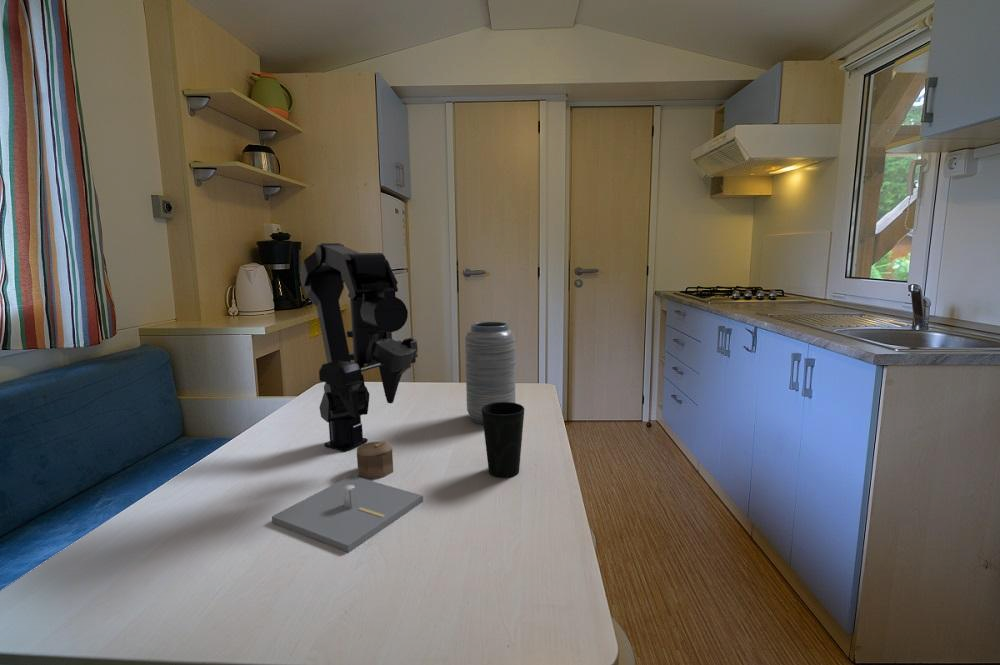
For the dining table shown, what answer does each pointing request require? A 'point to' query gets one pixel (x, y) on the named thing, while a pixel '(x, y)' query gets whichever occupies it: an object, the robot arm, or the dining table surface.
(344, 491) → the base plate
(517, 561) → the dining table surface
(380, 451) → the knob
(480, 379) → the vase
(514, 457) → the cup
